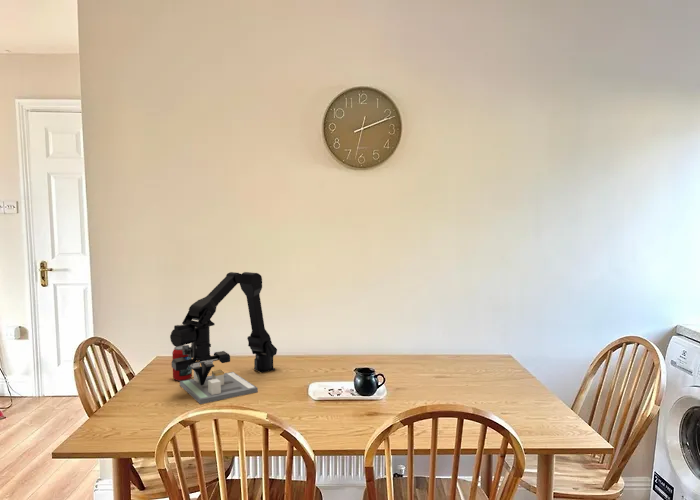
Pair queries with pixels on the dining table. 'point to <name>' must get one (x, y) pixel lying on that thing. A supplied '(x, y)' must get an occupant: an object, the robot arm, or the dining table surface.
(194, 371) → the block
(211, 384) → the block
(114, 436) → the dining table surface
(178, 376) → the beverage can
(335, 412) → the dining table surface
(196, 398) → the panel
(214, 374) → the block
